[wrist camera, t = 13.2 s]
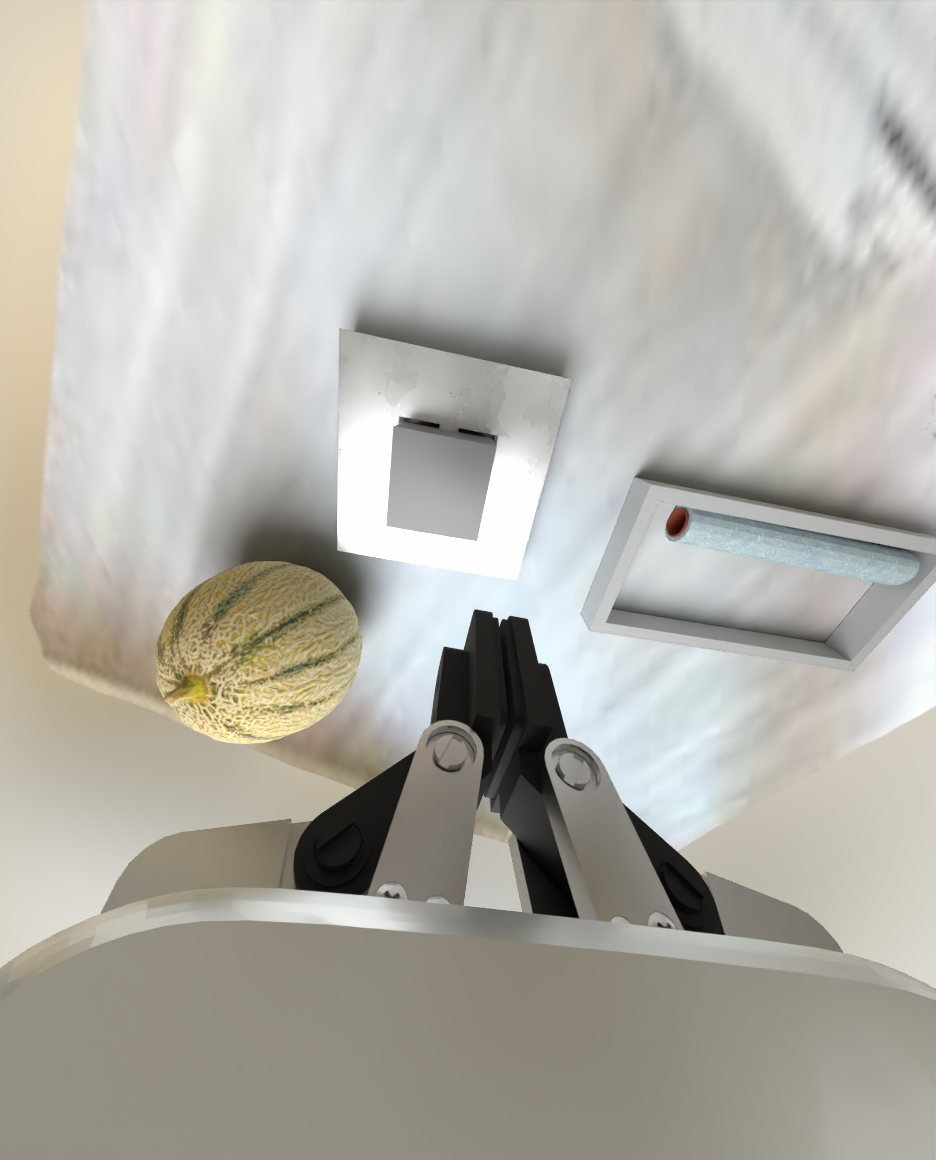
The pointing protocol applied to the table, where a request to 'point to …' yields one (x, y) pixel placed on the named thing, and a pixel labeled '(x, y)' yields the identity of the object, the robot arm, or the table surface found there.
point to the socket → (454, 400)
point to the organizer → (838, 652)
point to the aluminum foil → (791, 546)
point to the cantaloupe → (258, 652)
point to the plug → (438, 480)
